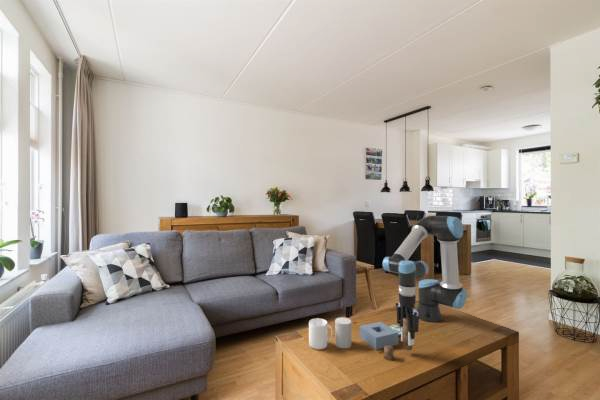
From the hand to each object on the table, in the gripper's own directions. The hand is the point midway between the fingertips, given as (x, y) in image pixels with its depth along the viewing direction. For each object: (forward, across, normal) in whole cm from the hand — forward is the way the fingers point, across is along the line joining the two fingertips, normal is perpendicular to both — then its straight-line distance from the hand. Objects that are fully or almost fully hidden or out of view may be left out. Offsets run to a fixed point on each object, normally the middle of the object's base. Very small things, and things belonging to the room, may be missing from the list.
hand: (407, 342), depth 137 cm
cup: (+6, -20, -24) cm, 31 cm away
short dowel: (+5, -1, -11) cm, 12 cm away
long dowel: (+3, 0, 0) cm, 3 cm away
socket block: (+6, -16, -5) cm, 17 cm away
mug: (+5, -24, -35) cm, 42 cm away
